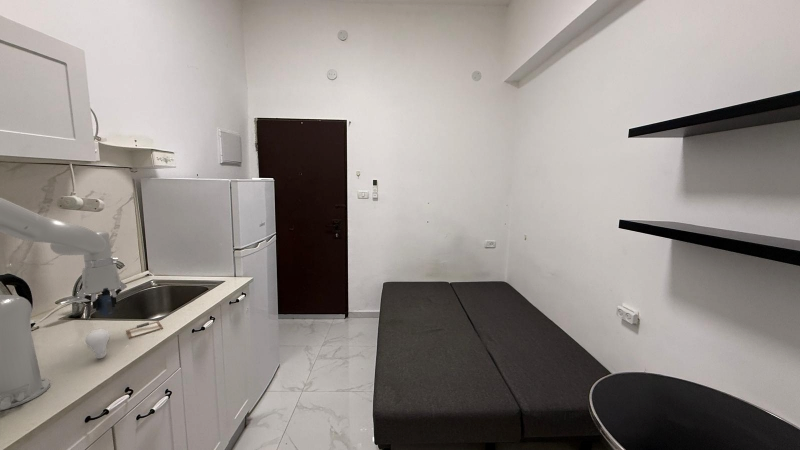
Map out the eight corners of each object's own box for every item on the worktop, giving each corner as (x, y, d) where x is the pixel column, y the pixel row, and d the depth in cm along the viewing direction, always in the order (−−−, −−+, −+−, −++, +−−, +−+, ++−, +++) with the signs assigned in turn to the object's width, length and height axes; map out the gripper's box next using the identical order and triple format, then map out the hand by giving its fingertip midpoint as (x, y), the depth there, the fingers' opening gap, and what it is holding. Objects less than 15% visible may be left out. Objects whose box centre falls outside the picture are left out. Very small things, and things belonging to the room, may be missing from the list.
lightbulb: (101, 363, 103) (96, 334, 101) (83, 363, 103) (78, 334, 101) (117, 353, 109) (113, 325, 107) (101, 353, 109) (96, 325, 107)
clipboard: (163, 328, 127) (162, 325, 127) (129, 339, 119) (128, 336, 118) (158, 322, 133) (158, 319, 132) (126, 331, 124) (125, 328, 124)
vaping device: (107, 316, 114) (103, 286, 112) (97, 315, 115) (93, 285, 113) (115, 313, 116) (111, 284, 115) (104, 312, 117) (100, 283, 116)
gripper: (127, 257, 122) (132, 299, 124) (66, 265, 109) (73, 312, 112) (129, 260, 117) (135, 304, 119) (66, 269, 104) (74, 318, 107)
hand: (105, 307), depth 115 cm, fingers closed on vaping device, 3 cm apart
